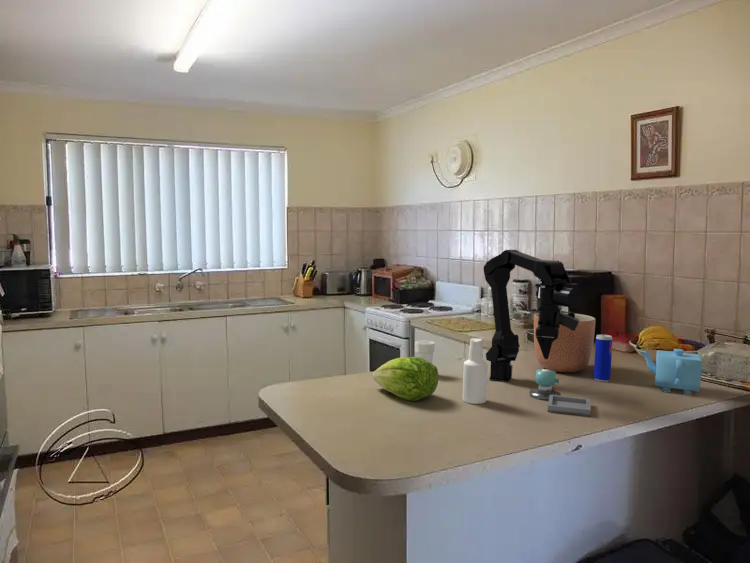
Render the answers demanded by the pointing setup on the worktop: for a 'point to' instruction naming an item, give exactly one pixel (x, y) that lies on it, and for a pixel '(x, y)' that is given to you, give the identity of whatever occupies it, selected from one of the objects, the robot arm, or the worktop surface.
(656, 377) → the teapot
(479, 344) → the spray bottle
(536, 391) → the round metal saucer
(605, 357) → the beverage can
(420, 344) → the cup
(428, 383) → the lettuce
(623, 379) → the worktop surface
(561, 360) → the planter
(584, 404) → the tray
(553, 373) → the teal rounded toy
